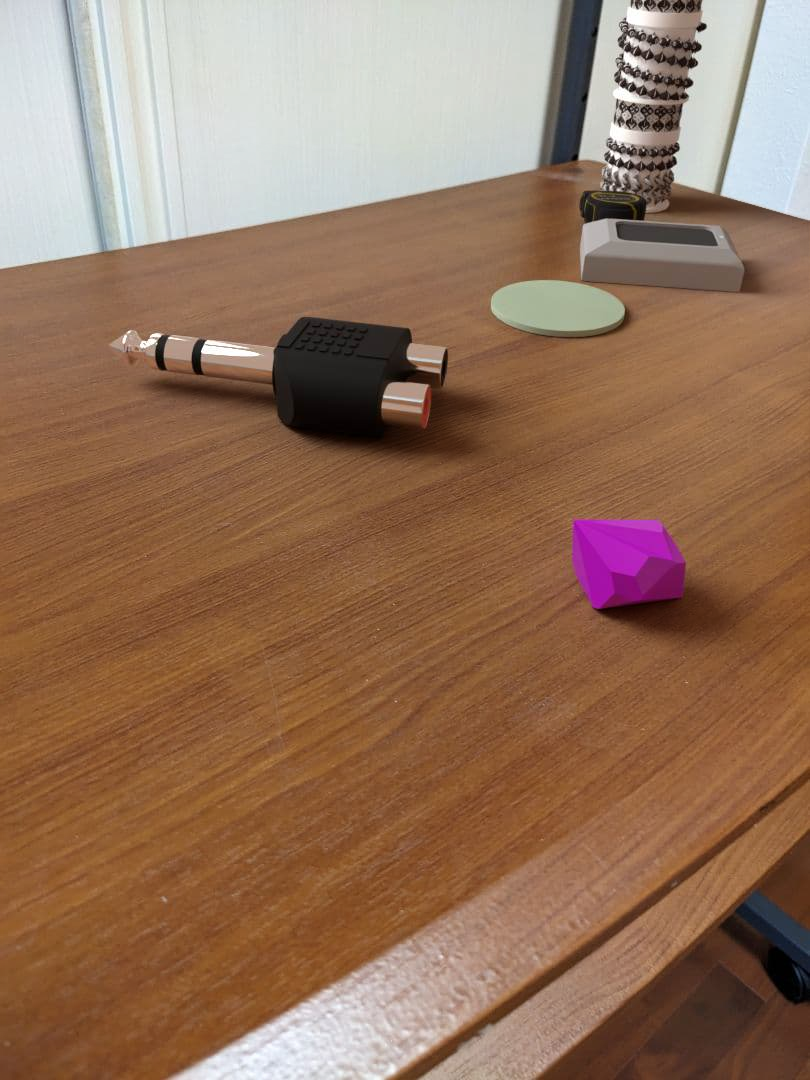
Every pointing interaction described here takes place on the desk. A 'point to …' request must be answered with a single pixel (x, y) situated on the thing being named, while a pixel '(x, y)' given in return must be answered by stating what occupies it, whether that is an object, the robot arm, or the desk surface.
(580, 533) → the crystal
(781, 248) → the desk surface
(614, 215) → the tape measure
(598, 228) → the grey device with screen
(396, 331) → the audio adapter
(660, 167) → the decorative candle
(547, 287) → the coaster
